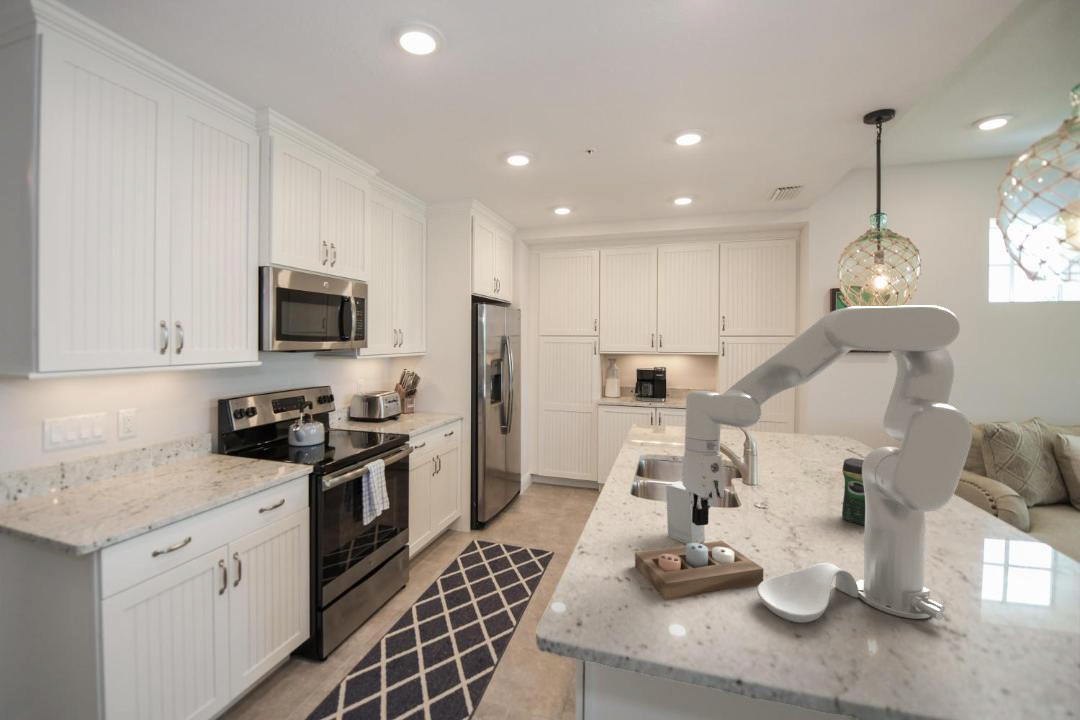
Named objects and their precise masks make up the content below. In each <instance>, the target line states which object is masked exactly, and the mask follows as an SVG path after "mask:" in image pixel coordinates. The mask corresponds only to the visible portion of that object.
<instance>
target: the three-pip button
mask: <svg viewBox="0 0 1080 720" xmlns="http://www.w3.org/2000/svg"><path fill="white" fill-rule="evenodd" d="M659 567H660V568H661V569H662V570H663V571H664V572H671V571H677V570H681V559H680V558H679V557H678V556H676V555H673V554H661V555H660V556H659Z"/></svg>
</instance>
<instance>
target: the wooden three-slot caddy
mask: <svg viewBox="0 0 1080 720" xmlns="http://www.w3.org/2000/svg"><path fill="white" fill-rule="evenodd" d="M700 544H702V545H705V546H706V547H707V548H708V566H704V567H698V568H692V567H691V566H690V565H689V564H687V563H686V545H687V544H684V545H679V546H672V547H671V546H670V547H665V548H658V549H651V550H650V549H649V550H641V551H640V550H639V551H635V552H634V567H635V568H636V569H637V571H639V572H640V574H641V575H642V576H643V577H644V578H645V580H647V581H648V583H650V585H651V586H652V587H653V588H654V589H655V590H656V591H657V593H659V594H660V595H661V596H662V597H663V598H664V600H666V601H668V600H674V599H680V598H685V597H686V598H687V597H692V596H693V597H694V596H698V595H699V596H700V595H704V594H711V593H716V592H722V591H723V592H724V591H728V590H734V589H742V588H747V587H753V586H754V587H755V586H759V584H760V583H761V582H763V581H764V567H762V566H760V564H758V563H756V562H755V561H753V560H752V559H750V558H749V557H747V556H745V555H744V554H743V553H741V552H740V551H739V550H737V549H735V548H734V547H732V546H730V545H729V544H727V543H726V542H725V541H723V540H717V541H709V542H702V543H700ZM714 547H725V548H728V549H731V550H732V551H733V552H734V562H731V563H725V564H719V563H718V562H717V561H715V560H714V559H713V558H712V548H714ZM661 554H673V555H676V556H678V557H679V558H680V559H681V570H677V571H671V572H664V571H663V570H662V569H661V568H660V567H659V556H660V555H661Z"/></svg>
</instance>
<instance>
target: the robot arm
mask: <svg viewBox="0 0 1080 720" xmlns="http://www.w3.org/2000/svg"><path fill="white" fill-rule="evenodd" d="M960 327H961V325H960V321H959V320H958V317H957V316H956V315H955V314H954V313H953V312H952V311H951V310H949V309H947V308H944V307H941V306H938V305H927V304H926V305H893V306H892V305H890V306H886V305H884V306H880V305H879V306H877V305H875V306H872V305H870V306H869V305H867V306H866V305H865V306H849V307H845V308H838V309H835V310H832V311H830V312H829V313H827V314H825V315H824V316H823V317H821V318H820V319H819V320H817V321H816V322H815V323H814V324H812V325H811V326H810V327H809V328H807V329H806V330H805V331H803V332H802V333H801V334H800V335H799V336H797V337H796V338H795V339H793V340H792V341H791V342H789V343H788V344H787V345H786V346H785V347H783V348H782V349H781V350H780V351H778V352H777V353H775V354H774V355H773V356H771V357H769V358H767V360H765V361H764V362H763V363H761V364H759V366H757V367H756V368H754V369H753V370H751V371H750V372H748V373H747V374H745V376H743V377H742V378H740V380H738V381H737V382H735V384H733V385H732V386H731V387H730V388H728V389H727V390H726V391H724V392H723V394H720V393H718V392H716V391H709V390H692V391H689V392H688V393H687V395H686V398H685V399H686V400H685V426H684V427H685V429H684V433H685V434H684V453H683V461H682V473H681V476H682V478H681V479H682V481H681V482H683V486H684V487H685V488H686V491H687V492H688V493H689V494H690V497H691V504H692V505H694V506H692V523H694V524H695V525H697V526H699V525H704V526H707V525H709V513H710V512H709V510H710V509H711V507H717V506H718V505H719V504H718V499H723V498H724V497H725V475H724V474H725V473H724V470H725V469H724V462H723V457H722V454H721V425H724V426H729V427H734V428H738V429H739V428H740V429H741V428H742V429H745V428H750V427H753V426H755V425H756V424H757V423H758V422H759V421H760V419H761V416H762V408H761V406H762V405H763V404H765V403H766V402H767V401H768V400H770V399H772V398H773V397H775V396H777V395H778V394H779V393H781V392H784V391H788V390H789V389H794V388H797V387H800V386H803V385H805V384H807V383H809V382H811V381H812V380H813V379H815V378H816V377H817V376H818V375H820V374H821V373H822V372H824V371H825V370H826V369H828V368H829V367H830V366H832V365H833V364H834V363H835V362H837V361H839V360H840V359H841V358H842V357H844V356H845V355H846V354H848V353H849V352H851V351H869V352H870V351H874V352H891V353H892V354H893V356H894V358H895V361H896V365H897V366H896V367H897V370H896V377H895V381H894V385H893V388H892V390H891V394H890V397H889V400H888V403H887V406H886V409H885V412H884V415H883V419H882V420H883V421H882V422H883V428H884V430H885V432H886V433H887V434H888V435H889V436H890V437H891V438H893V439H894V440H896V441H898V442H901V446H900V448H899V447H896V446H881V447H878V448H875V449H873V450H871V451H870V452H869V453H868V454H867V455H865V458H864V459H863V460H864V461H863V465H862V478H863V485H864V492H865V525H864V542H863V543H864V548H863V549H864V550H863V551H864V553H863V579H860V580H857V581H856V583H857V586H858V590H859V597H858V598H859V599H861V600H862V601H863V602H864V603H866V604H867V605H869V606H871V607H873V608H875V609H877V610H879V611H881V612H884V613H887V614H890V615H893V616H897V617H901V618H905V619H913V620H923V619H929V618H930V617H932V618H934V619H935V620H938V621H941V620H942V619H943V618H944V611H945V610H946V608H945V606H944V605H942V604H941V603H939V602H936V601H934V600H932V598H931V590H930V589H928V588H926V587H925V551H926V548H925V545H926V544H925V543H926V541H925V540H926V513H929V512H934V511H937V510H939V509H942V508H943V507H945V506H946V505H947V504H948V503H949V502H950V500H952V497H953V496H954V494H955V493H956V491H957V490H956V489H957V487H958V485H959V482H960V478H961V475H962V473H963V470H964V466H965V464H966V461H967V458H968V455H969V452H970V449H971V445H972V441H973V432H972V430H973V429H972V426H971V424H970V421H969V419H968V418H967V416H966V415H965V414H963V413H962V411H960V410H959V409H958V408H956V407H954V406H952V405H949V404H948V403H949V399H950V395H951V390H952V387H953V383H954V376H955V367H954V362H953V358H952V356H951V354H950V352H949V350H948V349H947V347H948V346H950V345H951V344H952V343H954V342H955V340H956V339H957V338H958V335H959V333H960V329H961V328H960Z"/></svg>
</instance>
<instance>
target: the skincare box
mask: <svg viewBox="0 0 1080 720" xmlns="http://www.w3.org/2000/svg"><path fill="white" fill-rule="evenodd" d="M665 489H666V491H665V492H666V516H667V517H666V518H667V536H668V537H669V538H671V539H674V540H675V541H679V542H680V543H683V544H684V545H687V544H688V543H699V544H700V543H705V541H706V540H705V539H706V538H705V536H706V535H705V525H699V526H697V525H695V524H694V523H692V506H694V505H692V504H691V497H690V494H689V493H688V492H687V491H686V488H685V487H684V486H683V482H682V481H681V480H677V481H675V482H671V483H669V484H666V485H665Z"/></svg>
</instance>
